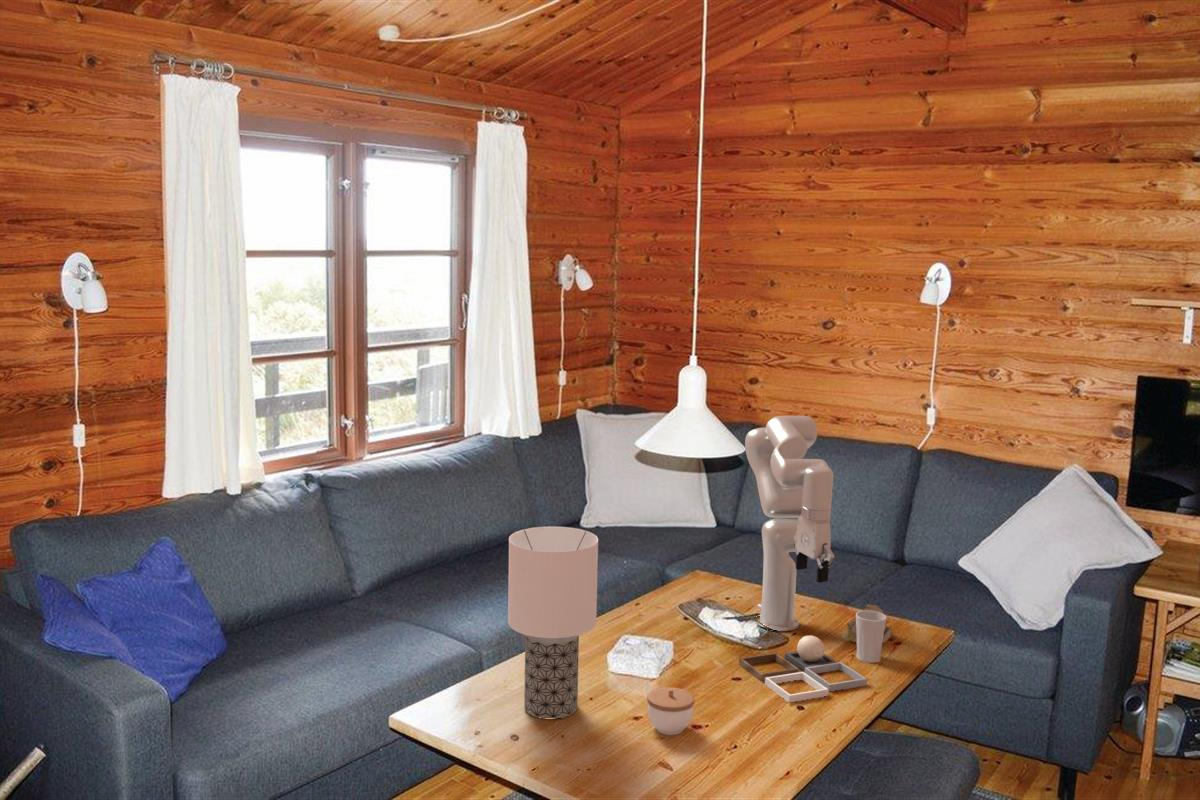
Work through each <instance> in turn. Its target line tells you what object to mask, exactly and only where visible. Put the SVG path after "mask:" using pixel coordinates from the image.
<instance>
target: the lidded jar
mask: <svg viewBox="0 0 1200 800" xmlns="http://www.w3.org/2000/svg"><path fill="white" fill-rule="evenodd" d="M646 700H647V701H646V702H647V714H648V718H649V721H650V723H651V724H652V725H653V727H654V728H655V729H656V731H657V732H658V733H660V734H662V735H667V736H674V735H679V734H681V733H682V732H683V731H684V730H685V729H686V728H687V727H688V726H689V725H690V723H691V721H692V718H693V714H694V705H695V697H694V695H693V694H692V693H691V691H690V692H689V691H688V690H686V689H683V688H679V687H671V686H668V687H667V686H665V687H657V688H654V689H652V690H650V691H649V692H648V694H647V696H646Z"/></svg>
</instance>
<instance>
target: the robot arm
mask: <svg viewBox="0 0 1200 800" xmlns="http://www.w3.org/2000/svg"><path fill="white" fill-rule="evenodd" d="M817 438H818V427H817V424H816V421H814V419H813V418H812V417H810V416H807V415H778V416H774V417H772V418H771V419H769V420H768V421H767V423H766V425H765V427H757V428H754V429H751V430H750V431H748V433H746V435H745V441H744V447H745V454H746V458H747V461H748V464H749V465H750V468H751V469H752V472H753V473H754V476H755V479H756V483H757V485H756V486H757V490H758V495H759V502H760V506H761V509H762V512H763V514H764V515H765V516H767V517H768V518H771V519H769V520H767V521H766V522H764V524H763V525H762V528H761V540H762V551H763V565H762V567H763V568H762V569H763V570H762V590H761V591H762V593H761V603H758V604H757V608H758V610H759V609H760V614H758V615H757V616H760V620H759V621H760V623H762V624H763V625H765V626H767V627H769V628H771V629H773V630H777V631H776V632H788V631H789V632H790V631H794V630H796V629H798V628H799V626H800V620H799V619H797V618H796V617H795V607H796V606H795V605H796V603H795V602H796V589H797V588H796V586H797V585H796V584H797V570H799V571H800V570H806V569H807V568H808V558H810V559H811V560H816V561H817V565H818V567H817V568H816V580H815V581H816V583H825V582H828V580H829V569H830V568H831V565H833V562H834V559H835V555H834V553H833V550H832V549H831V540H832V539H831V537H832V535H831V533H832V532H831V513H832V511H831V510H832V502H833V501H832V498H833V488H834V487H833V486H834V471H833V470H832V469H831V468H830V466H829V464H828V463H827V462H826V461H825V460H824V459H821V458H804V457H805V455H806V454H807V452H808V449H809V448H811V447H812V446H813V445H814V443H815V442H816V441H817ZM793 552H795V555H796V557H795V561H794V560H793V558H792V557H791V556H790V555H789V554H790V553H793ZM822 560H824V561H822ZM773 630H772V631H773Z"/></svg>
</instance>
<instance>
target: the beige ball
mask: <svg viewBox="0 0 1200 800" xmlns="http://www.w3.org/2000/svg"><path fill="white" fill-rule="evenodd" d="M825 650H826V649H825V646H824V643H823V641H821V639H819V637H817V636H814V635H804V636H802V638H801V639H799V641H798V643H797V646H796V651H798V654H799V656H800V657H801V658H802V659H803V660H805V661H808V662H815V661H817V660H819V659H820V658H821V657H823V655H824V654H825Z"/></svg>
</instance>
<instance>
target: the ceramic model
mask: <svg viewBox="0 0 1200 800" xmlns="http://www.w3.org/2000/svg"><path fill="white" fill-rule="evenodd" d="M864 610H869V611H876V612H880V613H882V614H884V615H885V613H884V610H883V609H881V608H880V607H879V606H878V605H876V604H871V603H868V604H865V608H863V609H862V610H861V611H864ZM887 623H888V619H887V618H886V623H885V629H884V635H883V642H882V643H883V644H884V643H886V642H888V641H889V640H890V639H891V637H892V635H893V633H894V632H893V627H892V626H890V625H887ZM846 627H847V630H846V631H845V632H843V635H842V636H844V638H843V640H845V641H846V640H847V642H850V641H852V643H854V642H856V643H855V644H857V626H856V616H855V617H853V619H852V620H850V621H849V622H847V623H846ZM889 638H890V639H889ZM888 639H889V640H888ZM887 640H888V641H887ZM885 641H886V642H885Z"/></svg>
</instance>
